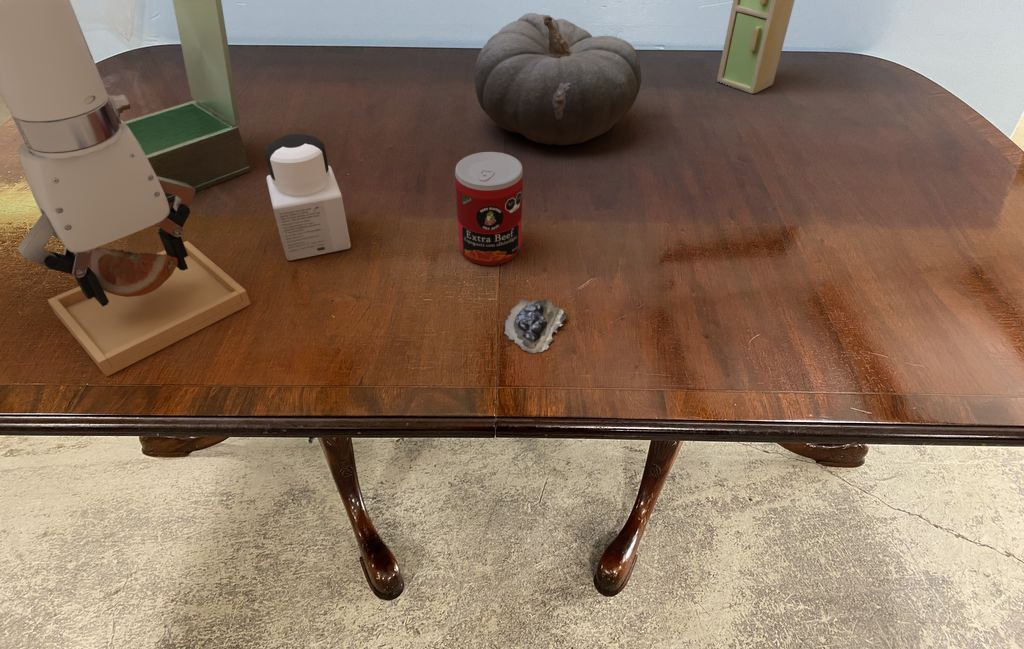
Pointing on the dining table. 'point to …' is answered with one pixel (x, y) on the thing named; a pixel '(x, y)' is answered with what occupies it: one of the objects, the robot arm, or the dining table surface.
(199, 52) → the bin lid
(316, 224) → the container
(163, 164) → the bin
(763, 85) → the toy refrigerator
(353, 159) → the dining table surface
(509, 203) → the canned food
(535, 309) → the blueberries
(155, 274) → the fruit slice
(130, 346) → the tray
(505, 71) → the gourd
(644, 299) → the dining table surface
